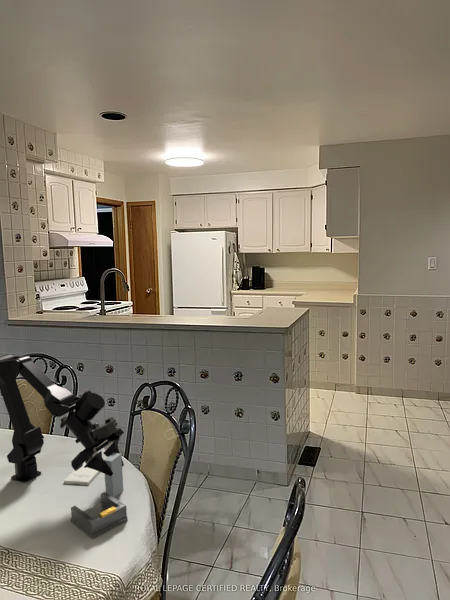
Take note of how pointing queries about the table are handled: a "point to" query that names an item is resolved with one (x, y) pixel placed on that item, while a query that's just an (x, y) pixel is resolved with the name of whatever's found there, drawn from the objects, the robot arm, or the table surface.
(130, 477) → the table surface
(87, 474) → the external hard drive
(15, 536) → the table surface
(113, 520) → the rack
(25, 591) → the table surface
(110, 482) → the block
